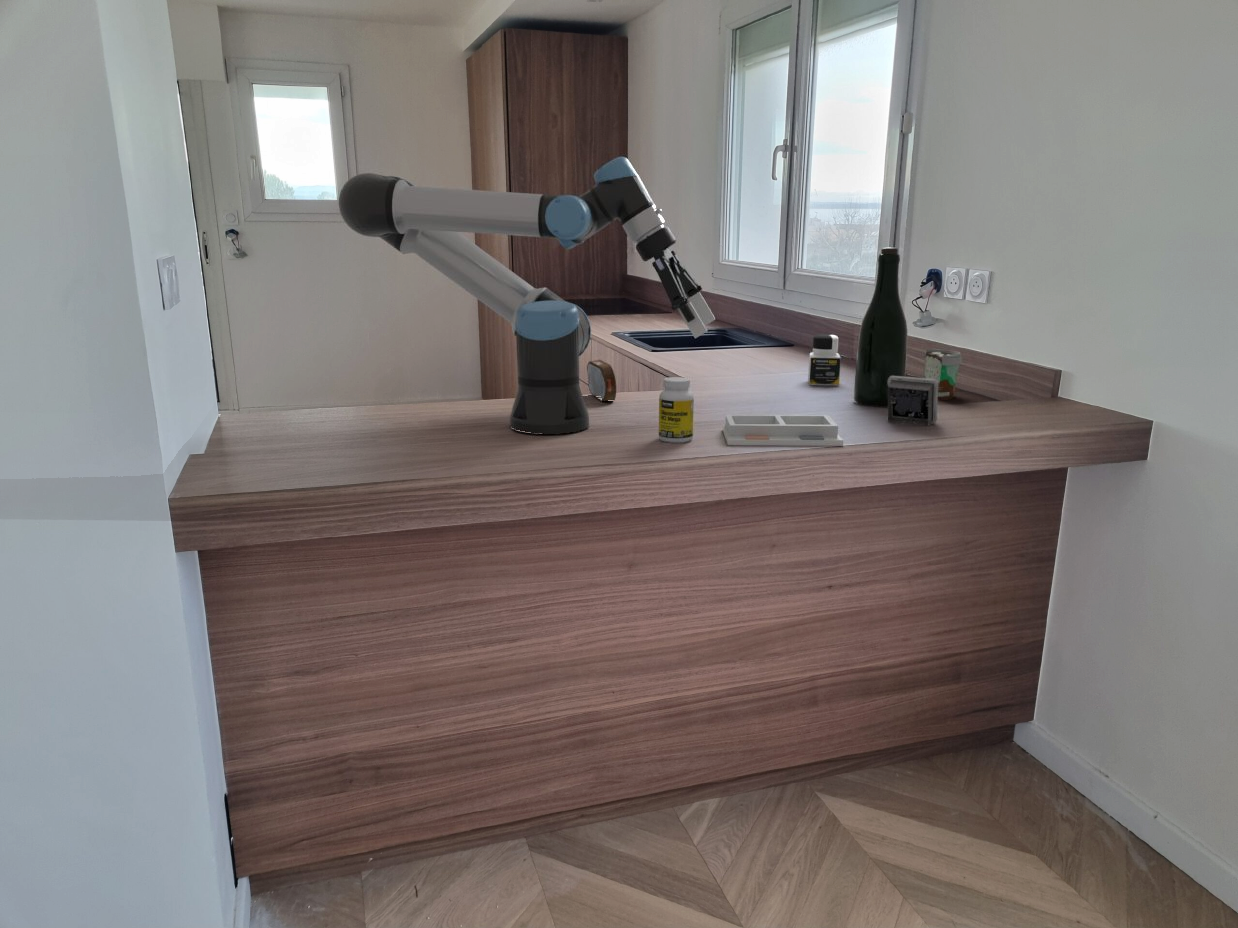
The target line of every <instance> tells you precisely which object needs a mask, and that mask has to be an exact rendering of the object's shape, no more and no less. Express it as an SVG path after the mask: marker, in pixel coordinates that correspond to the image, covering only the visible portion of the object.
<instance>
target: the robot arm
mask: <svg viewBox="0 0 1238 928" xmlns="http://www.w3.org/2000/svg"><path fill="white" fill-rule="evenodd" d="M593 178H594V183H595V184H594V186H593V187H591V188H590V189H589V190H587V191H586V192H584V193H582V194H580V195H579V196H576V195H573V194H562V195H560V194H559V195H557V194H542V193H529V192H527V193H525V192H514V191H513V192H511V191H496V190H495V191H494V190H493V191H492V190H480V189H478V190H477V189H464V188H463V189H461V188H448V187H447V188H445V187H433V186H432V187H431V186H429V187H428V186H416V185H414V184H413V183H411V182H409V181H408V180H406V179H403V178H401V177H398V176H394V175H387V176H386V175H381V174H377V173H373V172H372V173H370V172H366V173H359V174H357V175H355V176H354V175H353V176H352V177H350V178H349V179H347V181H346V182H345V183H344V185H343V186H342V188H341V190H340V191H339V192H340V193H339V197H338V208H339V212H340V215H341V217H342V220H343V221H344V223H346V225H347V226H348V227H349V228H350V229H351V230H353V231H354V232H355V233H357V234H359V235H362V236H366V237H371V238H380V239H382V240H383V241H385V242H386V243H387V244H388V245H390V246H391V247H393V248H394V249H395V250H397V251H398V252H400V253H401V254H403V255H405V254H415V255H416V256H418V257H419V258H420V259H422V260H423V261H425V262H426V263H427V264H429V265H430V266H431V267H433V268H434V269H435V270H437V271H438V272H440V273H441V274H443V275H444V276H445V277H447V278H448V280H449V279H450V280H451V281H453V282H454V283H455V284H456V285H458V286H459V287H460V288H461V289H463V290H465V291H466V292H468V294H470V295H471V296H473V297H474V298H476V299H477V300H478V301H479V302H481V303H483V305H484V306H486V307H488V308H489V309H490V310H491V311H493V312H495V313H496V314H497V315H499V317H502V318H503V319H504V320H505V321H507V322H508V323H510V326H511V331H512V334H513V335H514V336H515V337H516V339H515V341H516V361H517V362H516V363H517V365H516V366H517V383H518V384H517V391H516V394H515V397H514V402H513V405H512V409H511V412H510V415H509V424H510V425H509V426H511V427H512V428H514V429H516V430H520V431H525V432H531V433H542V434H555V435H561V434H560V433H567V434H570V433H569V432H573V433H577V432H576V431H578V432H581V431H580V430H582V431H584V430H587V429H588V428H589V427H590V415H589V411H588V408H587V405H586V403H585V400H584V396H583V393H582V390H581V387H580V356H581V355H583V354H584V352H585V350H586V349H588V346H589V344H590V342H591V338H592V337H591V336H592V327H591V326H592V324H591V322H590V320H589V319H590V318H588V315H587V314H586V313H585V311H584V310H583V309H582V308H581V307H580V306H578V305H577V304H574V303H572V302H568V301H566V300H564V299H563V298H561V297H560V296H558V295H557V294H556V293H554V292H553V291H551V290H550V289H549V288H547V287H539V288H535V287H534V286H532V285H531V284H530V283H528V282H527V281H526V280H524V279H523V278H521V276H519V275H518V274H516V273H515V272H513V271H512V270H511V269H509V268H507V266H505V265H504V264H502V263H501V262H500V261H499V260H497V259H495V258H494V257H493V256H491V255H490V254H489V253H487V252H486V251H485V250H483V248H481V247H479V246H478V245H477V244H476V243H474V242H472V241H471V240H470V239H468V238H467V237H466V236H464V235H463V234H461V233H470V234H471V233H472V234H474V233H475V234H489V235H507V236H516V237H517V236H520V237H533V238H534V237H535V238H536V237H537V238H545V239H556V240H557V241H558V242H559V244H560V245H561V246H562V247H563V248H564V249H567V250H572V249H573V248H575V247H577V246H579V245H581V244H584V242H585V241H586V240H588V239H589V238H591V237H592V236H594V235H595V234H596V233H598V232H600V231H601V230H602V229H604V228H605V227H607V226H608V225H610V224H611V223H613V222H615V221H616V220H617V219H618V221H619V223H620V224H621V225H622V228H623V230H624V232H625V233H626V235H627V236H628V239H629V240H630V242H631V243H632V244H636V245H635V249H636V251H637V253H638V254H639V257H640V258H641V260H642V261H643V262H648V261H650V260H651V259H652V258H653V259H654V261H653V262H651V266H652V267H653V268H654V270H655V272H656V273H657V276H658V278H659V280H660V282H661V284H662V287H663V288H664V291H665V292H666V295H667V297H668V300H669V302H670V304H671V309H672V311H673V312H674V311H675V312H676V311H678V312H679V314H680V316H681V318H682V319H683V321H684V323H685V324H686V326H687V328H688V330H689V331H690V333H691V335H692V336H693V337H694V339H697V338H698V337H700V336H703V334H705V333H707V332H708V329H707V327H706V326H707V325H709V324H710V323H712V322H714V321H716V318H715V315H714V314H713V312H712V310H711V308H710V306H709V305H708V304H707V302H706V300H705V298H704V297H703V295H702V294H701V291H702V290H703V288H702V286H701V284H699V283H697V281H696V280H695V279H694V278H693V276H692V274H691V273H690V271H689V270H687V268H686V267H685V264H683V262H682V261H681V259H680V258H679V255H677V252H676V251H675V250H670V249H669V248H670V247H672V246H674V244H676V242H677V239H676V237H675V236H674V234H673V232H672V231H671V229H670V227H669V226H666V225H665V222H666V221H665V219H664V217H663V216H662V214H661V213H662V212H663V210H662V208H660V207H658V208H657V205H656V203H655V202H654V200H653V199H652V197H651V195H650V193H649V192H648V189H647V188H646V186H645V184H644V183H643V181H642V180H641V177H640V175H639V174H638V173H637V171H636V170H635V168H634V166H633V165H632V163H631V162H630V160H629V159H628V158H627V157H625V156H618V157H616V158H614V159H612V160H610V161H608V162H607V163H605V164H604V165H602V166H601V167H600V168H599V169H596V171H595V172H594V174H593ZM687 297H688V298H687ZM586 428H587V429H586ZM583 429H584V430H583Z"/></svg>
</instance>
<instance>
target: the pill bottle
mask: <svg viewBox="0 0 1238 928" xmlns="http://www.w3.org/2000/svg"><path fill="white" fill-rule="evenodd" d="M690 386H691V379H690V378H688V377H681V376H679V377H678V376H677V377H676V376H673V377H672V376H669V377H665V378H663V388H664V390H663V391H661V392H660V393H659V397H658V402H659V403H658V439H659V440H660V441H662V442H665V443H672V444H683V443H688V442H690V441H692V440H693V437H694V436H693V435H694V408H695V407H694V405H695V398H694V397H695V396H694V393H693V392H692V391H691V390H690V388H691V387H690Z"/></svg>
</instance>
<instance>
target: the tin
mask: <svg viewBox="0 0 1238 928" xmlns="http://www.w3.org/2000/svg"><path fill="white" fill-rule="evenodd" d="M586 365H587V366H586V372H587V373H586V374H587V386H588V390H589V393H590V394H591V395H592V397H594V396H601V397H596V399H597V398H602V400H603V401H608V400H614V401H616V398H617V380H616V375H615V372H614V369H613V367H612V365H611V364H610V363H608V362H605V361H604V360H602V359H595V360H591V361H588V363H587V364H586Z"/></svg>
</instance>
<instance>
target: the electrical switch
mask: <svg viewBox="0 0 1238 928" xmlns="http://www.w3.org/2000/svg"><path fill="white" fill-rule="evenodd" d="M937 399H938V382H937V380H936V379H927V378H924V377H913V376H905V377H902V376H890V377H889V378H888V406H887V422H888V423H893V424H900V423H903V424H902V425H909V424H911V425H910V426H918V427H927V426H928V427H929V425H935V423H937V421H938V400H937ZM930 423H932V424H930Z"/></svg>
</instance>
